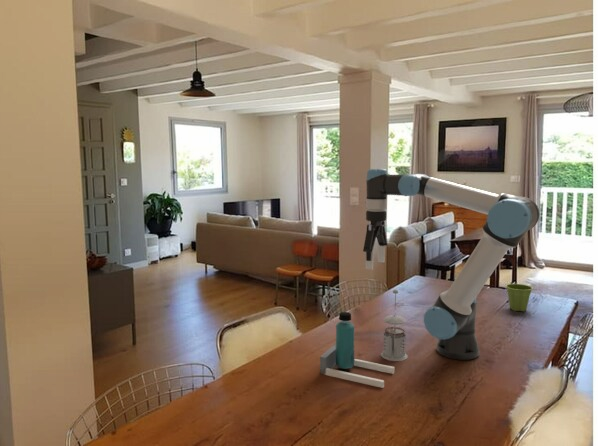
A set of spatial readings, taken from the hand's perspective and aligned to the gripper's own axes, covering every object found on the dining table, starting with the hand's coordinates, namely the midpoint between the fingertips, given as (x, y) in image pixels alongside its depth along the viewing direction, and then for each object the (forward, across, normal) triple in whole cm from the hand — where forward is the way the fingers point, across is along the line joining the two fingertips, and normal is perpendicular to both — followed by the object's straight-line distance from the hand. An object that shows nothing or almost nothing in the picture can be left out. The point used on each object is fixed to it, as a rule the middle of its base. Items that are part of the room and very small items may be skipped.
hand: (375, 265), depth 179 cm
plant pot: (+32, -74, +47) cm, 93 cm away
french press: (+32, +7, +10) cm, 34 cm away
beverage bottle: (+32, +25, -2) cm, 41 cm away
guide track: (+32, +26, +3) cm, 41 cm away
